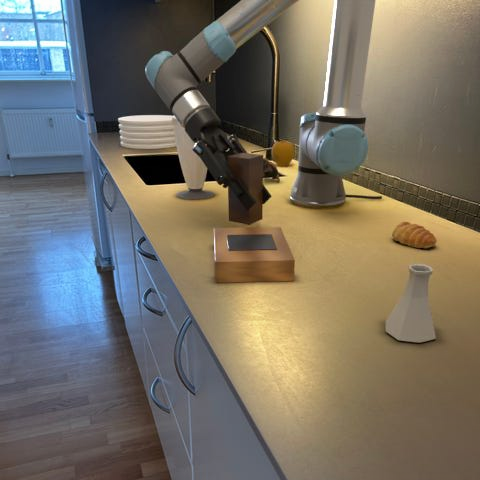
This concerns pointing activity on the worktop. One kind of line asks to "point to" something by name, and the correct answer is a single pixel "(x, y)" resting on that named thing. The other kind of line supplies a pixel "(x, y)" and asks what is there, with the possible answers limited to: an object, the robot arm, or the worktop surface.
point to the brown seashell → (270, 170)
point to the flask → (413, 309)
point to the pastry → (413, 235)
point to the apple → (283, 153)
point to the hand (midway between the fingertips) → (259, 203)
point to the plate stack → (147, 132)
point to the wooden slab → (252, 255)
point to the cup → (190, 166)
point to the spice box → (252, 179)
